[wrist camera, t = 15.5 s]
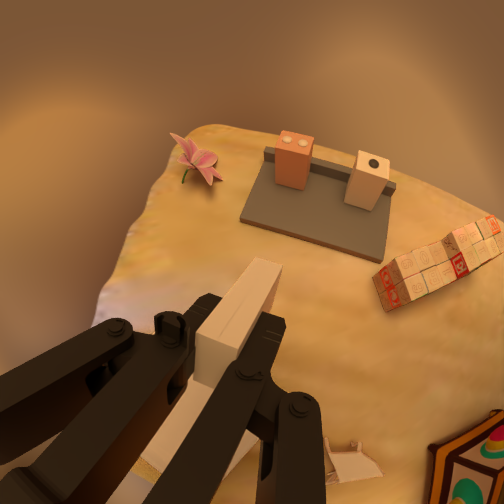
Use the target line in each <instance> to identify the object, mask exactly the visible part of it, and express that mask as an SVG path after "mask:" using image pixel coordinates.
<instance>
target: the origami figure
mask: <svg viewBox="0 0 504 504" xmlns="http://www.w3.org/2000/svg"><path fill="white" fill-rule="evenodd" d="M350 443H351V446H352V447H356V446H358V449H357V451H353V452H331V450H330V448H329V447H330V446H329V441H328V438H326V437H325V438H324V444H325V448H326V450H327V452H328V454H329V457H330V459H331V461H332V463H333V465H334V467H335V469H336V471H334V472H331V473H328V475H332V476H331V477H330V479H329V480H328V481H327V482H326V483H325V485H331V484H334V483H337V484H340V483H343V482H349V481H356V480H362V479H367V478H372V477H377V476H381V477H384V475H385V473H384V472H383V471H382V470H381V468H380V467H379V465H378V464H377V462H376V461H374V460H373V459H372V458H370V457H369V456H367V455H365V454H364V453H362V442H357V443H355V444H353V442H350ZM337 476H338V478H339V480H335V478H336V477H337ZM334 480H335V481H334Z"/></svg>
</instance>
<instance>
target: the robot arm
mask: <svg viewBox="0 0 504 504" xmlns="http://www.w3.org/2000/svg"><path fill="white" fill-rule="evenodd" d="M282 268H283V265H281V264H278V263H275V262H271V261H268V260H265V259H262V258H259V257H255V258H254V260H253V261H252V262H251V263H250V265H249V266H248V267H247V268H246V270H245V271H244V272H243V274H242V275H241V276H240V277H239V279H238V280H237V281H236V282H235V284H234V285H233V286H232V287H231V289H230V290H229V291H228V292H227V294H226V295H225V296H224V297H223V298H221V297H219V296H216V295H213V294H211V293H208V294H206V295H203V296H201V297H199V298H198V299H197V300H196V302H195V303H194V304H193V305H192V306H191V307H190V308H189V310H187V311H186V312H185V313H184V314H183V315H182V314H180V313H177V312H174V311H165V312H161V313H158V314H157V315H155V316H154V325H155V334H154V335H151V334H145V333H140V332H135V331H133V327H132V325H131V324H130V322H128V321H127V320H125V319H121V318H111V319H108V320H106V321H104V322H102V323H100V324H98V325H96V326H94V327H92V328H90V329H88V330H86V331H85V332H83V333H81V334H79V335H77V336H75V337H73V338H71V339H69V340H67V341H65V342H64V343H62V344H60V345H58V346H56V347H54V348H52V349H50V350H48V351H46V352H44V353H43V354H41V355H39V356H37V357H35V358H33V359H31V360H29V361H27V362H25V363H24V364H22V365H20V366H18V367H16V368H14V369H12V370H10V371H9V372H7V373H5V374H3V375H1V376H0V465H4V464H6V463H8V462H10V461H12V460H14V459H16V458H17V457H19V456H21V455H23V454H24V453H26V452H28V451H30V450H31V449H33V448H35V447H36V446H38V445H40V444H41V443H43V442H44V441H46V440H48V439H50V438H51V437H53V436H54V435H56V434H58V433H59V432H61V431H62V430H63V431H62V432H61V433H60V434H59V435H58V436H57V437H56V439H55V440H54V441H53V442H52V443H51V444H50V445H49V446H48V447H47V448H46V450H45V451H44V452H43V453H42V454H41V455H40V456H39V457H38V458H37V459H36V460H35V462H34V463H33V464H31V465H30V466H28V467H17V468H15V469H12V470H11V471H10V472H8V473H7V474H6V475H5V476H4V478H3V479H2V480H1V481H0V504H105V503H106V502H107V500H108V499H109V498H110V496H111V495H112V494H113V492H114V491H115V490H116V488H117V487H118V486H119V484H120V483H121V482H122V480H123V479H124V477H125V476H126V475H127V473H128V472H129V471H130V469H131V468H132V466H133V465H134V464H135V462H136V461H137V459H138V458H139V457H140V455H141V454H142V452H143V451H144V450H145V448H146V447H147V445H148V444H149V443H150V441H151V440H152V438H153V437H154V436H155V434H156V433H157V431H158V430H159V428H160V427H161V426H162V424H163V423H164V421H165V420H166V418H167V417H168V415H169V414H170V413H171V411H172V410H173V408H174V407H175V405H176V404H177V402H178V401H179V400H180V398H181V397H182V395H183V394H184V392H185V391H186V389H187V386H188V379H189V378H190V377H191V375H192V374H193V380H194V381H196V382H199V383H201V384H203V385H205V386H208V387H210V388H212V389H214V391H213V393H212V394H211V396H210V398H209V399H208V401H207V403H206V404H205V406H204V408H203V409H202V411H201V413H200V414H199V416H198V417H197V419H196V421H195V422H194V424H193V426H192V427H191V429H190V431H189V432H188V434H187V435H186V437H185V439H184V440H183V442H182V443H181V445H180V447H179V448H178V450H177V451H176V453H175V454H174V456H173V458H172V459H171V461H170V462H169V464H168V465H167V467H166V468H165V470H164V471H163V473H162V475H161V476H160V478H159V479H158V481H157V482H156V484H155V485H154V487H153V488H152V490H151V491H150V493H149V494H148V496H147V497H146V499H145V500H144V501H143V503H142V504H210V503H211V501H212V499H213V497H214V495H215V493H216V491H217V489H218V487H219V485H220V483H221V481H222V479H223V477H224V475H225V473H226V471H227V469H228V467H229V465H230V463H231V461H232V459H233V457H234V455H235V452H236V450H237V448H238V446H239V444H240V442H241V439H242V437H243V435H244V433H245V431H246V429H247V430H248V431H250V432H251V433H252V434H254V435H255V436H257V437H258V438H259V439H261V447H260V458H259V470H258V481H257V492H256V502H255V504H326V485H325V465H324V449H323V435H322V423H321V412H320V407H319V404H318V402H317V401H316V400H315V399H314V397H312V396H310V395H309V394H307V393H303V392H291V393H287V392H285V391H284V390H282V389H281V388H279V387H278V386H277V385H276V384H275V383H274V382H273V380H272V378H271V373H270V370H271V367H272V365H273V362H274V360H275V357H276V354H277V352H278V349H279V346H280V343H281V341H282V338H283V335H284V332H285V329H286V324H285V320H284V318H281V317H278V316H275V315H272V314H269V312H270V310H271V308H272V305H273V301H274V297H275V294H276V290H277V286H278V283H279V279H280V275H281V272H282Z"/></svg>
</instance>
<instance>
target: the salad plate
mask: <svg viewBox="0 0 504 504" xmlns="http://www.w3.org/2000/svg"><path fill="white" fill-rule="evenodd" d="M154 334H155V331H154V333H153V334H152V335H154ZM213 391H214V389H212V388H210V387H208V386H205V385H203V384H201V383H199V382H196V381H194V380H193V374H192V375H191V377H190V378H189V379H188V386H187V389H186V391H185V392H184V394H183V395H182V397H181V398H180V400H179V401H178V402H177V404H176V405H175V407H174V408H173V410H172V411H171V413H170V414H169V415H168V417H167V418H166V420H165V421H164V423H163V424H162V426H161V427H160V428H159V430H158V431H157V433H156V434H155V436H154V437H153V438H152V440H151V441H150V443H149V444H148V445H147V447H146V448H145V450H144V451H143V452H142V454H141V455H140V457H142V458H143V459H144V460H145V461H146V462H148V463H149V464H150V465H151V466H153V467H154V468H155V469H156V470H158V471H159V472H160V473H163V471H164V470H165V468H166V467H167V465H168V464H169V462H170V461H171V459H172V458H173V456H174V454H175V453H176V451H177V450H178V448H179V447H180V445H181V443H182V442H183V440H184V439H185V437H186V435H187V434H188V432H189V431H190V429H191V427H192V426H193V424H194V422H195V421H196V419H197V417H198V416H199V414H200V413H201V411H202V409H203V408H204V406H205V404H206V403H207V401H208V399H209V398H210V396H211V394H212V393H213ZM258 440H259V438H258V437H257V436H255V435H254V434H252V433H251V432H250V431H248V430H247V429H246V431H245V433H244V435H243V437H242V439H241V442H240V444H239V446H238V448H237V450H236V452H235V455H234V457H233V459H232V461H231V463H230V465H229V467H228V469H227V471H226V473H225V475H224V477H223V479H222V481H223V480H224V478H225V477H226V476H227V475H228V474H229V473H230V472H231V470H232V469H233V468H234V467H235V466H236V465H237V464H238V463H239V461H240V460H241V459H242V458H243V457H244V456H245V455H246V453H247V452H248V451H249V450H250V449H251V448H252V447H253V446H254V445H255V443H256V442H257V441H258ZM222 481H221V482H222Z"/></svg>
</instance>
